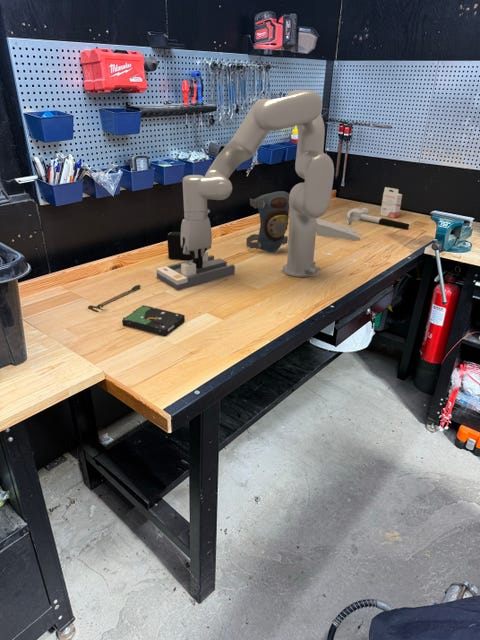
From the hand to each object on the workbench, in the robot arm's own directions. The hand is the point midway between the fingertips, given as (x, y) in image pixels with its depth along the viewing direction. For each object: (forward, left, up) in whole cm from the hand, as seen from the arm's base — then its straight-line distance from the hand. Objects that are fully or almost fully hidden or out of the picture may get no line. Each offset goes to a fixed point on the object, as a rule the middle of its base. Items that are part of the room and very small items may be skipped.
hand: (198, 267), depth 157 cm
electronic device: (+23, -8, -5) cm, 25 cm away
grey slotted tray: (+4, -2, -5) cm, 6 cm away
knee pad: (+12, -43, -5) cm, 45 cm away
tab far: (+8, -7, -3) cm, 11 cm away
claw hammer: (+8, -111, -6) cm, 112 cm away
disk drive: (-19, +28, -6) cm, 34 cm away
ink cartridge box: (+14, -131, -5) cm, 131 cm away
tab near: (0, +4, -3) cm, 5 cm away
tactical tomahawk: (+2, +29, -6) cm, 29 cm away
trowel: (+9, -82, -6) cm, 83 cm away
